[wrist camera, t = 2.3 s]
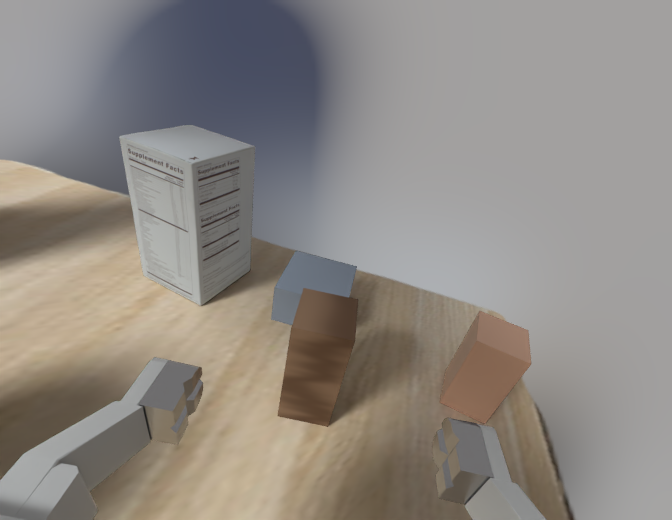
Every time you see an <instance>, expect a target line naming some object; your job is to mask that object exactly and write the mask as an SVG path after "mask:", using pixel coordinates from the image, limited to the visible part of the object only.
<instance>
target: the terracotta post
mask: <svg viewBox="0 0 672 520" xmlns="http://www.w3.org/2000/svg"><path fill="white" fill-rule="evenodd" d="M530 365H531V355H530V345H529V333H528V330H526V329H523V328H521V327H518V326H516V325H514V324H511V323H509V322H506V321H504V320H501V319H499V318H496V317H494V316H491V315H489V314H486V313H484V312H481V311H479V313H478V315H477V316H476V318H475V320H474V322H473V323H472V325H471V327H470V329H469V330H468V332H467V334H466V336H465V337H464V339H463V341H462V343H461V345H460V346H459V348H458V350H457V352H456V353H455V355H454V357H453V359H452V360H451V362H450V364H449V366H448V367H447V369H446V372H445V377H444V382H443V387H442V392H441V397H440V403H442V404H444V405H446V406H448V407H450V408H452V409H454V410H457V411H459V412H461V413H463V414H465V415H467V416H469V417H471V418H473V419H475V420H477V421H479V422H481V423H483V424H485V423H486V422H487V420H488V419H489V418H490V417H491V415H492V414H493V413H494V411H495V410H496V409H497V408H498V406H499V405H500V404H501V402H502V401H503V400H504V399H505V397H506V396H507V395H508V393H509V392H510V391H511V390H512V388H513V387H514V386H515V384H516V383H517V382H518V380H519V379H520V378H521V377H522V375H523V374H524V373H525V371H526V370H527V369H528V368H529V366H530Z"/></svg>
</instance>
